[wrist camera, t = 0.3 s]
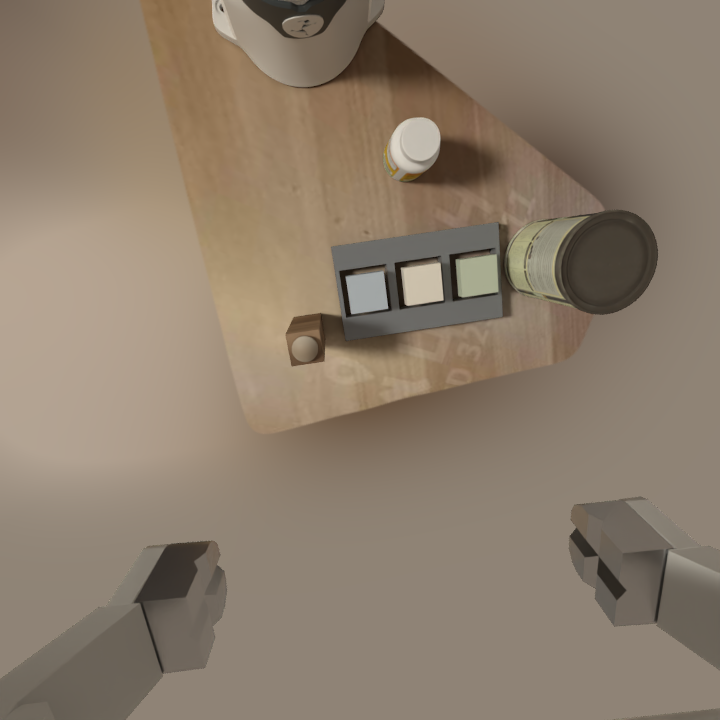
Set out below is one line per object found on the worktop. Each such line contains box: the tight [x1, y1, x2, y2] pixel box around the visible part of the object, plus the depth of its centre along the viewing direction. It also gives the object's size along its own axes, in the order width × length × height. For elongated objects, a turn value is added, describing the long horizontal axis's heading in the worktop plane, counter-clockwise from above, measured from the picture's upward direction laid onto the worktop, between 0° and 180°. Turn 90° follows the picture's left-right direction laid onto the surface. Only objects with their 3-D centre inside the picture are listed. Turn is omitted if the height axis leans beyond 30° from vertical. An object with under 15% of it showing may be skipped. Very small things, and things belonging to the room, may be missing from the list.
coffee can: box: [504, 210, 658, 315], centre depth 49 cm, size 10×10×14 cm
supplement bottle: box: [383, 118, 441, 182], centre depth 46 cm, size 5×5×10 cm
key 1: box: [346, 271, 388, 314], centre depth 52 cm, size 5×5×2 cm
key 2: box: [456, 254, 498, 297], centre depth 52 cm, size 5×5×2 cm
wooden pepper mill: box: [286, 313, 325, 366], centre depth 50 cm, size 4×4×12 cm
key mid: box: [401, 262, 444, 306], centre depth 52 cm, size 5×5×2 cm
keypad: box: [331, 222, 503, 341], centre depth 54 cm, size 12×21×2 cm, turn 98°
